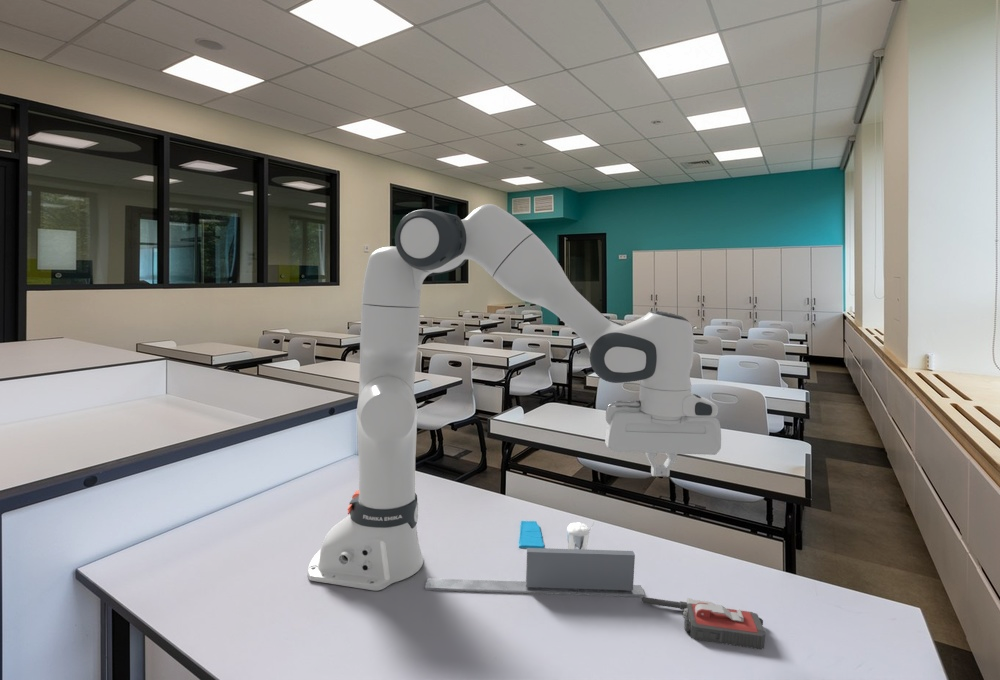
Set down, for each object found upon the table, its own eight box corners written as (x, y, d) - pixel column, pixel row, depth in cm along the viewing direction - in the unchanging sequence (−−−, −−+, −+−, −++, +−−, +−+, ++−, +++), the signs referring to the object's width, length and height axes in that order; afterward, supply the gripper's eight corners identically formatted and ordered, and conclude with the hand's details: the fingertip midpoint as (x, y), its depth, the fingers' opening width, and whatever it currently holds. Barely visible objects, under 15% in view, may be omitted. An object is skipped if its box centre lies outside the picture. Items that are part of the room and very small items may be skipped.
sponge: (545, 522, 126) (520, 518, 126) (545, 547, 114) (518, 543, 114) (544, 528, 126) (520, 524, 126) (544, 554, 114) (517, 549, 114)
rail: (424, 590, 98) (424, 587, 98) (427, 580, 101) (427, 578, 101) (644, 597, 97) (644, 594, 97) (640, 587, 100) (640, 585, 100)
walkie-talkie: (758, 619, 92) (640, 603, 96) (760, 596, 92) (642, 580, 96) (773, 654, 84) (643, 634, 88) (775, 629, 83) (645, 610, 87)
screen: (526, 586, 98) (527, 551, 98) (526, 582, 100) (526, 547, 99) (632, 590, 98) (634, 555, 97) (631, 585, 100) (633, 550, 99)
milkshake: (591, 575, 104) (593, 527, 103) (564, 571, 105) (566, 524, 104) (592, 562, 109) (594, 517, 108) (566, 559, 110) (568, 514, 109)
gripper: (609, 404, 91) (606, 480, 93) (727, 407, 91) (722, 483, 93) (603, 396, 98) (600, 467, 99) (713, 398, 97) (708, 470, 99)
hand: (659, 475), depth 96 cm, fingers closed
